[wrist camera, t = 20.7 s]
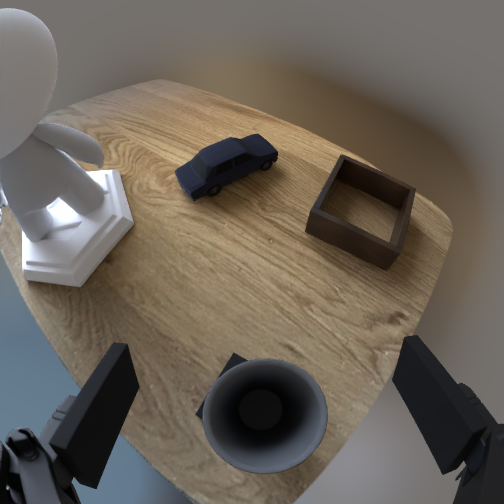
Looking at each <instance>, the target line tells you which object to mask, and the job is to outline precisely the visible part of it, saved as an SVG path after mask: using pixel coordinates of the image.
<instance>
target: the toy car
mask: <svg viewBox="0 0 504 504" xmlns="http://www.w3.org/2000/svg"><path fill="white" fill-rule="evenodd" d="M277 157H278V151H277V150H276V149H275V148H274V147H273V146H272V145H271V144H270V143H269V142H268V141H267V140H266V139H264V138H263V137H262V136H261V135H259V134H253V135H250V136H247V137H245V138H242V139H238V138H233V137H230V138H227V139H225V140H222V141H220V142H217V143H215V144H212V145H210V146H208V147H206V148H204V149H202V150H201V151H200V152H199V153H198V154H197V155H196V156H195V157H194V158H193V159H192V160H191V161H189V162H187V163H186V164H184V165H183V166H181V167H180V168H178V169H177V170H175V174H176V176H177V179H178V182H179V183H180V186H181V187H182V189H183V191H184V192H185V193H186V195H187V196H188V197H189V198H190V199H192V200H193V201H195V200H196V199H198V198H200V197H202V196H205V195H206V193H208V195H209V196H215V195H217V194H218V193H219V192H220V190H221V187H220V185H222V186H225V185H227V184H229V183H231V182H233V181H235V180H237V179H239V178H241V177H243V176H245V175H247V174H249V173H251V172H254V171H256V170H258V169H259V168H260V169H261V170H263V171H266V170H268V169H269V168H270V167H271V166H272V161H273V162H276V161H277V159H278V158H277Z"/></svg>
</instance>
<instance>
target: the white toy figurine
mask: <svg viewBox="0 0 504 504" xmlns="http://www.w3.org/2000/svg"><path fill="white" fill-rule="evenodd" d="M57 73H58V56H57V50H56V46H55V42H54V39H53V37H52V35H51V33H50V31H49V30H48V28H47V27H46V26H45V24H44V23H43V22H42V21H41V20H40V19H38V18H37V17H36V16H34V15H33V14H31V13H29V12H26V11H23V10H19V9H12V8H11V9H9V8H5V9H0V225H1V216H2V210H1V207H2V205H3V206H4V207H6V206H7V202H8V204H9V206H10V208H11V210H12V213H13V215H14V216H15V218H16V220H17V222H18V224H19V225H20V227H21V229H22V259H23V277H24V279H25V280H30V281H37V282H44V283H51V284H59V285H67V286H75V287H82V285H83V284H84V283H85V282H86V280H87V279H88V278H89V277H90V275H91V274H92V273H93V272H94V270H95V269H96V268H97V267H98V265H99V264H100V263H101V262H102V261H103V259H104V258H105V257H106V256H107V255H108V253H109V252H110V251H111V250H112V249H113V248H114V246H115V245H116V244H117V243H118V242H119V241H120V240H121V238H122V237H123V236H124V235H125V234H126V233H127V232H128V231H129V229H130V228H131V227H132V226H133V225H134V221H133V218H132V215H131V212H130V208H129V205H128V201H127V198H126V194H125V191H124V187H123V183H122V180H121V176H120V173H119V171H116V170H106V171H94V172H86V171H85V170H84V169H83V168H82V167H81V166H80V165H78V164H77V163H76V162H75V161H74V160H73V159H72V158H71V157H69V156H68V155H67V154H69V155H70V156H72V157H74V158H75V159H77V160H78V161H81V162H86V163H91V164H95V165H97V167H98V168H101V167H102V166H103V163H104V153H103V150H102V148H101V146H100V145H99V143H98V142H97V141H96V140H95V139H93V138H92V137H91V136H89V135H87V134H85V133H83V132H81V131H79V130H76V129H73V128H70V127H67V126H63V125H58V124H51V123H43V124H39V122H40V121H41V119H42V117H43V116H44V114H45V112H46V110H47V108H48V106H49V103H50V101H51V98H52V96H53V92H54V89H55V84H56V79H57ZM66 153H67V154H66ZM3 192H4V193H3ZM4 194H5V196H4ZM5 197H6V198H5Z"/></svg>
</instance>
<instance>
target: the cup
mask: <svg viewBox="0 0 504 504" xmlns="http://www.w3.org/2000/svg"><path fill="white" fill-rule="evenodd" d="M327 420H328V412H327V405H326V401H325V397H324V395H323V393H322V391H321V389H320V387H319V385H318V384H317V383H316V381H315V380H314V379H313V378H312V377H311V376H310V375H309V374H308V373H307V372H305V371H304V370H303V369H301V368H299V367H297V366H296V365H294V364H291V363H288V362H286V361H283V360H277V359H255V360H250V361H246V362H244V363H241V364H239V365H236V366H234V367H233V368H231V369H230V370H228V371H226V372H225V373H224V374H223V375H222V376H221V377H220V378H219V379H217V381H216V382H215V383H214V385H213V386H212V388H211V389H210V391H209V393H208V395H207V397H206V400H205V404H204V408H203V426H204V430H205V434H206V437H207V439H208V441H209V443H210V445H211V446H212V448H213V449H214V450H215V452H216V453H217V454H218V455H219V456H220V457H221V458H222V459H223V460H224V461H226V462H227V463H229V464H230V465H232V466H234V467H236V468H238V469H241V470H243V471H246V472H251V473H257V474H273V473H278V472H282V471H286V470H288V469H291V468H293V467H295V466H297V465H299V464H300V463H302V462H303V461H305V460H306V459H307V458H308V457H309V456H310V455H311V454H312V453H313V452H314V451H315V450H316V448H317V447H318V445H319V444H320V442H321V441H322V438H323V436H324V433H325V431H326V426H327Z"/></svg>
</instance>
